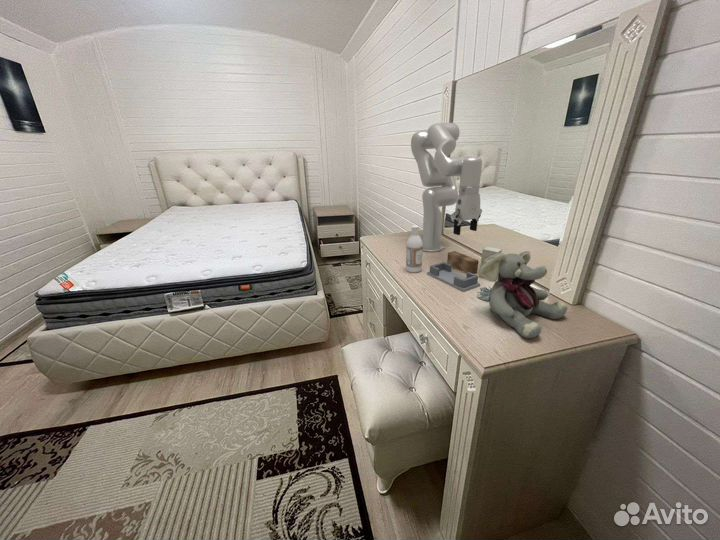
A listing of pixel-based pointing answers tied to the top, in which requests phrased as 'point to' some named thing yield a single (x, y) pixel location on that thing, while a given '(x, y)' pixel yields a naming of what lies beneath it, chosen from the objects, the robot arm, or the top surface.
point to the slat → (462, 262)
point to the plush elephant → (517, 292)
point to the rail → (453, 277)
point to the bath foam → (414, 251)
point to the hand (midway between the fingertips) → (464, 232)
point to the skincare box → (486, 253)
